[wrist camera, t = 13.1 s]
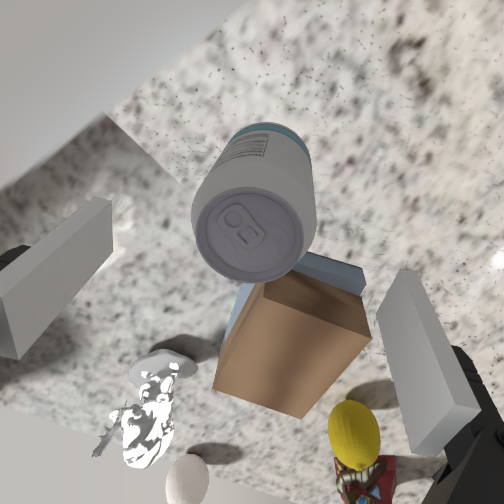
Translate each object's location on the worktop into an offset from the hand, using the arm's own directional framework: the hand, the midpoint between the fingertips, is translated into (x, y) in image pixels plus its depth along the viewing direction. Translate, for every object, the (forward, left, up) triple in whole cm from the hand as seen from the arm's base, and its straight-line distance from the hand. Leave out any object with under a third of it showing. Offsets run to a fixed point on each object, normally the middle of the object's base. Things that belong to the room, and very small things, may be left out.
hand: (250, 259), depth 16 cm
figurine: (-7, -26, -14) cm, 31 cm away
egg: (-1, -47, -14) cm, 49 cm away
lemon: (+16, -26, -14) cm, 34 cm away
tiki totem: (+23, -41, -14) cm, 49 cm away
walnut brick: (+5, -14, -12) cm, 19 cm away
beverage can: (0, 0, -14) cm, 14 cm away
